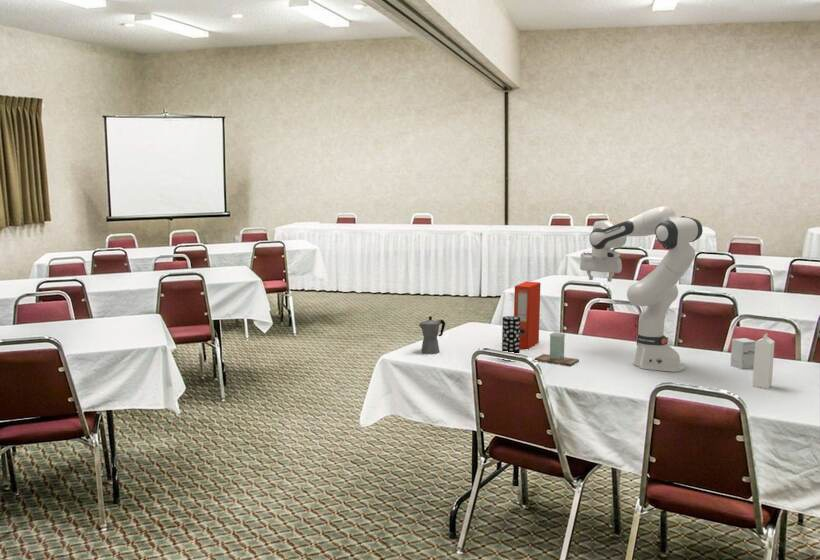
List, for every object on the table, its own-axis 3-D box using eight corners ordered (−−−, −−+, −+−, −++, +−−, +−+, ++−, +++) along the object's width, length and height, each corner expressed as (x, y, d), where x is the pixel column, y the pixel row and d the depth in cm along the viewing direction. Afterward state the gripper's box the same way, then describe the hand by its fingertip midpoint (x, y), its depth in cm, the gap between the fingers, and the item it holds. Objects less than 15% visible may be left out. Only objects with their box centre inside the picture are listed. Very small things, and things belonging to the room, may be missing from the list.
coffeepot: (424, 355, 358) (424, 319, 355) (414, 351, 366) (413, 316, 363) (450, 351, 366) (450, 316, 363) (439, 347, 374) (439, 313, 371)
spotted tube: (519, 356, 355) (519, 316, 352) (519, 361, 346) (520, 319, 344) (501, 356, 356) (502, 316, 353) (502, 360, 347) (502, 319, 344)
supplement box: (741, 369, 330) (742, 342, 328) (729, 365, 337) (731, 338, 336) (754, 368, 332) (756, 341, 330) (743, 364, 339) (745, 337, 337)
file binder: (539, 343, 384) (540, 282, 379) (528, 350, 368) (529, 287, 364) (524, 341, 387) (525, 281, 383) (513, 348, 372) (514, 285, 368)
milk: (771, 385, 305) (775, 333, 302) (767, 389, 300) (771, 336, 297) (756, 383, 309) (759, 331, 306) (751, 386, 304) (755, 334, 301)
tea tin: (564, 358, 347) (564, 333, 345) (559, 360, 342) (560, 335, 341) (554, 356, 349) (554, 332, 348) (549, 359, 345) (550, 334, 344)
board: (578, 361, 345) (578, 359, 345) (570, 366, 337) (570, 363, 337) (543, 356, 355) (543, 354, 355) (534, 360, 347) (534, 358, 347)
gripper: (578, 252, 364) (577, 279, 366) (619, 254, 352) (617, 283, 354) (583, 251, 369) (582, 278, 371) (623, 253, 357) (622, 281, 359)
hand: (600, 280), depth 362 cm, fingers open, 8 cm apart
